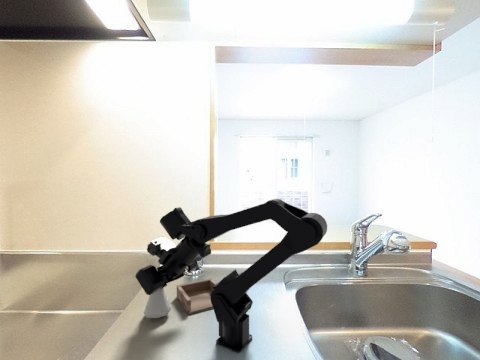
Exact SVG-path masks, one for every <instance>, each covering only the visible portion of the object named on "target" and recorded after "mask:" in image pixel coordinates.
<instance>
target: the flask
mask: <svg viewBox="0 0 480 360" xmlns="http://www.w3.org/2000/svg"><path fill="white" fill-rule="evenodd" d="M171 310H172V308H171V305H170V303H169V299H168V298H167V294H166V291H165V290H164V287H163V288H162V289H159V290H158V291H156V292H154V293H153V294H151V295H148V299H147V303H146V305H145V308H144V312H143V314H144V316H145V318H147V319H159V318H162V317H164V316H168V315H169V313H170V312H171Z"/></svg>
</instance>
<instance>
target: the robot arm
mask: <svg viewBox="0 0 480 360" xmlns="http://www.w3.org/2000/svg"><path fill="white" fill-rule="evenodd" d="M268 220H272V221H273V222H275V223H276V224H277V225H278V226H279V227H280V228H281V229H283V230H284V231H285V232H286V233H285V235H284V236H283V238H282V239H281V240H280V241H279V242H278V243H277V244H276V245H275V246H274V247H273V248H271V249H270V250H269V251H268V252H266V253H265V254H264V255H263V256H261V257H260V258H259V259H258V260H257V261H255V262H254V263H253V264H251V265H250V266H249V267H248V268H246V269H245V270H244V271H243V272H240V273H238V271H237V269H233V270H232V271H231V272H229V273H228V274H227V275H226V276H224V277H223V278H222V279H220V280H219V281H218V282H216V283H217V284H216V285H214V286H213V287H212V288H213V289H214V290H213V291H212V292H211V294H210V296H211V303H212V305H213V308H212V310H213V312H214V314H215V315H214V316H215V318H216V322H218V336H219V337H218V338H217V339H216V341H215V344H217V345H219V346H220V347H221V346H222V347H224V348H226V349H228V350H231V351H233V352H236V353H241V352H242V350H243V349H245V347H246V346H247V344H249V342H250V341H251V340H252V339H253V334H251V333H250V315H249V314H247V313H248V311H250V310H251V308H252V306H253V303H254V302H253V300H252V299H251V297H250V296H249V295H248V292H249V290H250V289H251V288H252V287H253V286H255V285H256V284H257V283H259V282H260V281H261V280H262V279H263V278H265V277H267V276H268V274H270V273H271V272H273V270H275V269H277V267H279V266H280V265H281V264H283V263H285V262H286V261H287V260H288V259H289V258H291V257H293V256H295V255H298V254H299V253H303V252H305V251H307V250H309V249H312V248H313V247H315V246H317V245H319V243H320V242H321V241H322V240H323V238H324V237H325V235H326V234H327V231H328V223H327V220H326V219H325V217H324V216H323V215H321V214H319V213H316V212H315V213H314V212H307V211H306V210H304V209H302V208H300V207H298V206H294V205H292V204H290V203H287V202H286V201H284V200H282V199H280V198H274V199H271V200H267V201H266V202H264V203H261V204H257V205H254V206H252V207H249V208H246V209H242V210H240V211H235V212H233V213H229V214H216V215H210V216H206V217H202V218H198V219H196V220H194V221H191V220H190V219H189V217H188V215H186V214H185V212H184V210H183V208H182V207H181V206H177V207H174V208H173V210H171V211H169V212H167V213H166V214H165V215H163V216H162V217H161V218H160V220H159V224H160V225H161V227H163V229H164V230H165V232H166V233H167V235H168V236H169V237H170V239H171V240H172V241H171V240H169V238H167V237H165V236H161V237H158V238H154V239H153V240H151V241H150V242H149V243H148V244H147V248H146V251H147V253H148V254H149V255H151V256H152V257H154V256H156V257H157V258H159V259H158V261H157V262H158V264H160V265H161V266H158V267H156V266H155V265H151V264H149V265H147V266H144V267H143V268H140V269H139V270H138V271H137V272H136V273H135V276H134V277H135V278H136V280H137V282H138V283H139V285H140V286H141V288H142V290H143V291H144V292H145V294H146V295H147V296H150V295H151V294H153V293H154V292H156V291H158V290H159V289H162V288H163V289H164V288H165V287H167V286H168V284H169V283H171V282H175V281H177V280H179V279H181V278H182V277H184V276H185V272H186V271H187V273H191V272H193V271H194V270H195V269H196V268H197V267H198V261H197V259H196V258H198V256H200V257H201V258H202V259H204V258H206V257H208V256H209V255H211V254H212V250H211V249H212V248H211V244H208V243H207V242H210V241H212V240H214V239H217V238H220V237H221V236H223V235H225V234H227V233H229V232H230V231H233V230H237V229H240V228H243V227H247V226H250V225H255V224H257V223H261V222H264V221H268ZM174 240H176V241H177V240H178V241H180V242H178V244H177V245H176V244H175V243H174V242H173V241H174ZM187 268H188V269H187Z"/></svg>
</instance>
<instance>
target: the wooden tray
mask: <svg viewBox="0 0 480 360" xmlns="http://www.w3.org/2000/svg"><path fill="white" fill-rule="evenodd" d="M217 283H218V282H216V281H215V280H214V279H213V278H212V277H211V278H206V279H202V280H197V281H193V282H188V283H184V284H180V285H179V284H178V285H176V298H177V300H178V301H179V302H180V304H181V306H182V307H183V309H184V310H185V312H186V314H187V315H188V316H189V315H194V314H197V313H198V314H199V313H201V312H205V311H208V310H211V309H212V310H213V305H212V303H211V296H210V294H211V292H212V291H213V290H214V289H213V288H212V287H213V286H214V285H216V284H217Z"/></svg>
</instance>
